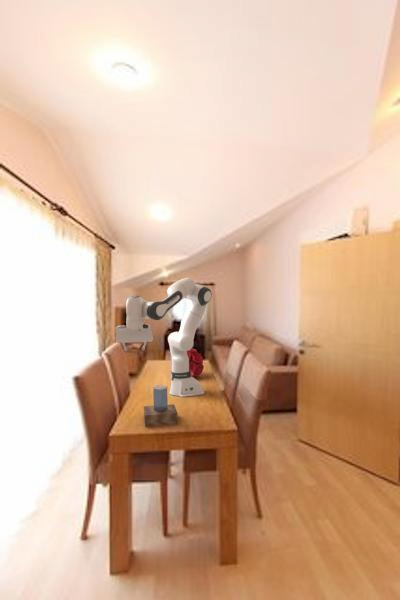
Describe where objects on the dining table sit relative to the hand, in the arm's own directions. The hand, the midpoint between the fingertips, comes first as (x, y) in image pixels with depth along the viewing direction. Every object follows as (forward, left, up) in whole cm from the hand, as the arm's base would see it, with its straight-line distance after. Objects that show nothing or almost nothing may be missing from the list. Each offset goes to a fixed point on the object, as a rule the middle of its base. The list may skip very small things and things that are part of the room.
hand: (134, 350), depth 198 cm
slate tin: (-12, +20, -28) cm, 36 cm away
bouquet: (-44, -68, -33) cm, 88 cm away
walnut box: (-12, +20, -34) cm, 41 cm away
